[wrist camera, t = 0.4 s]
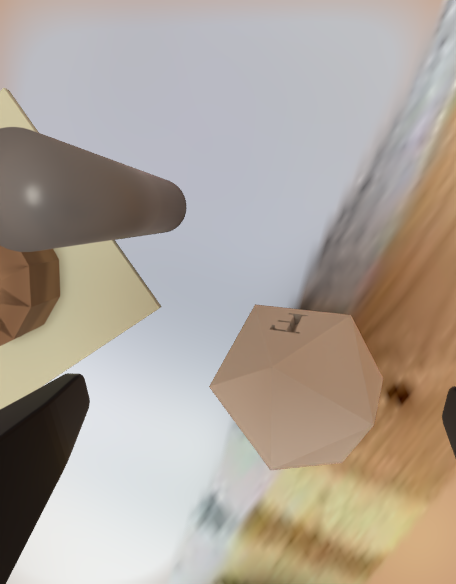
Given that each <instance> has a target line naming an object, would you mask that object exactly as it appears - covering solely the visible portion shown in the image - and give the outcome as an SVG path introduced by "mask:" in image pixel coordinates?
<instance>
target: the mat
mask: <svg viewBox="0 0 456 584" xmlns="http://www.w3.org/2000/svg"><path fill="white" fill-rule="evenodd" d="M5 127H20V128H25V129H29V130H32V131H35V132H37V133H39V132H38V131H37V129H36V128H35V127H34V126H33V124H32V122H31V121H30V120H29V118H28V117H27V116H26V114H25V113H24V111H23V110H22V108H21V107H20V106H19V104H18V103H17V101H16V100H15V98H14V97H13V95H12V94H11V93H10V91H9V90H7V89H5V88H3V89H2V90H1V91H0V128H5ZM53 250H54V251H55V253H56V255H57V257H58V259H59V273H60V297H59V299H58V301H57V303H56V305H55V306H54V308H53V310H52V312H51V313H50V315H49V317H48V319H47V321H46V322H45V324H44V325H42V326H40V327H38V328H36V329H34V330H32V331H30V332H28V333H26V334H24V335H22V336H20V337H18V338H16V339H14V340H12V341H10V342H8V343H6V344H4V345H1V346H0V409H2V408H4V407H6V406H8V405H9V404H11V403H13V402H15V401H17V400H19V399H20V398H22V397H24V396H26V395H28V394H30V393H31V392H33V391H35V390H37V389H39V388H40V387H42V386H43V385H45V384H46V383H48V382H49V381H51V380H52V379H54V378H55V377H57V376H58V375H59V374H61V373H63V372H64V371H65V370H67V369H69V368H70V367H72V366H73V365H74V364H76V363H78V362H79V361H81V360H82V359H84V358H85V357H87V356H88V355H90V354H91V353H93V352H94V351H96V350H97V349H98V348H100V347H102V346H103V345H105V344H106V343H108V342H109V341H111V340H112V339H114V338H115V337H117V336H118V335H120V334H121V333H123V332H124V331H126V330H127V329H129V328H130V327H132V326H133V325H135V324H136V323H138V322H139V321H141V320H142V319H144V318H145V317H147V316H148V315H150V314H151V313H153V312H154V311H156V310H157V309H159V308H160V307H161V305H160V304H159V303H158V301H157V300H156V298H155V297H154V295H153V294H152V293H151V291H150V290H149V288H148V287H147V285H146V284H145V283H144V281H143V280H142V278H141V277H140V276H139V274H138V273H137V272H136V270H135V268H134V267H133V266H132V264H131V263H130V261H129V260H128V259H127V257H126V256H125V254H124V253H123V251H122V250H121V249H120V247H119V246H118V244H117V243H116V241H115V240H109V241H102V242H95V243H89V244H82V245H75V246H68V247H61V248H54V249H53Z"/></svg>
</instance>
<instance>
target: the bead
mask: <svg viewBox="0 0 456 584" xmlns="http://www.w3.org/2000/svg"><path fill="white" fill-rule="evenodd" d="M59 297H60V273H59V259H58V257H57V255H56V253H55V251H54V250H53V249H48V250H41V251H34V252H18V251H13V250H10V249H7V248H4V247H2V246H0V346H1V345H4V344H6V343H8V342H10V341H12V340H14V339H16V338H18V337H20V336H22V335H24V334H26V333H28V332H30V331H32V330H34V329H36V328H38V327H40V326H42V325H44V324H45V322H46V321H47V319H48V317H49V315H50V313H51V312H52V310H53V308H54V306H55V305H56V303H57V301H58V299H59Z"/></svg>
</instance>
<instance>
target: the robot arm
mask: <svg viewBox="0 0 456 584" xmlns="http://www.w3.org/2000/svg"><path fill="white" fill-rule="evenodd" d="M89 403H90V400H89V395H88V391H87V387H86V383H85V379H84V377H83V376H82V375H81V374H65V375H63V376H61V377H59V378H57V379H55V380H54V381H52V382H50V383H48V384H46V385H45V386H42V387H41V388H39V389H37V390H35V391H33V392H31V393H30V394H28V395H26V396H24V397H22V398H20V399H19V400H17V401H15V402H13V403H11V404H9V405H8V406H6V407H4V408H2V409H0V584H6V582H7V580H8V578H9V576H10V574H11V572H12V570H13V568H14V566H15V564H16V563H17V561H18V559H19V557H20V555H21V552H22V551H23V549H24V547H25V545H26V543H27V541H28V539H29V537H30V535H31V533H32V531H33V529H34V527H35V525H36V523H37V521H38V519H39V517H40V515H41V513H42V511H43V509H44V507H45V505H46V504H47V502H48V500H49V498H50V496H51V494H52V492H53V490H54V488H55V486H56V484H57V482H58V480H59V478H60V476H61V474H62V472H63V470H64V468H65V466H66V464H67V462H68V459H69V457H70V455H71V452H72V450H73V447H74V444H75V442H76V439H77V437H78V434H79V431H80V429H81V427H82V424H83V421H84V419H85V416H86V413H87V411H88V408H89ZM442 419H443V424H444V427H445V430H446V433H447V435H448V438H449V441H450V444H451V447H452V449H453V452H454V455H455V458H456V387H455V386H454V387H451V388H450V389H449V391H448V395H447V399H446V402H445V406H444V410H443V414H442Z"/></svg>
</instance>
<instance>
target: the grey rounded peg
mask: <svg viewBox="0 0 456 584" xmlns="http://www.w3.org/2000/svg"><path fill="white" fill-rule="evenodd" d="M185 213H186V200H185V197H184V195H183V193H182V191H181V190H180V188H179V187H178V186H176V185H175V184H174V183H172V182H170V181H168V180H165V179H162V178H160V177H157V176H154V175H151V174H149V173H146V172H143V171H140V170H138V169H135V168H132V167H130V166H126V165H124V164H122V163H119V162H116V161H113V160H111V159H108V158H105V157H103V156H100V155H97V154H94V153H92V152H89V151H86V150H84V149H81V148H78V147H75V146H73V145H70V144H67V143H65V142H62V141H59V140H56V139H54V138H51V137H48V136H45V135H43V134H40V133H37V132H35V131H32V130H29V129H25V128H20V127H5V128H0V246H2V247H4V248H7V249H10V250H13V251H18V252H34V251H41V250H48V249H54V248H61V247H68V246H75V245H82V244H89V243H95V242H102V241H109V240H115V239H123V238H130V237H136V236H143V235H150V234H157V233H164V232H169V231H171V230H173V229H175V228H176V227H178V226H179V225H180V223H181V222H182V221H183V219H184V217H185Z"/></svg>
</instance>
